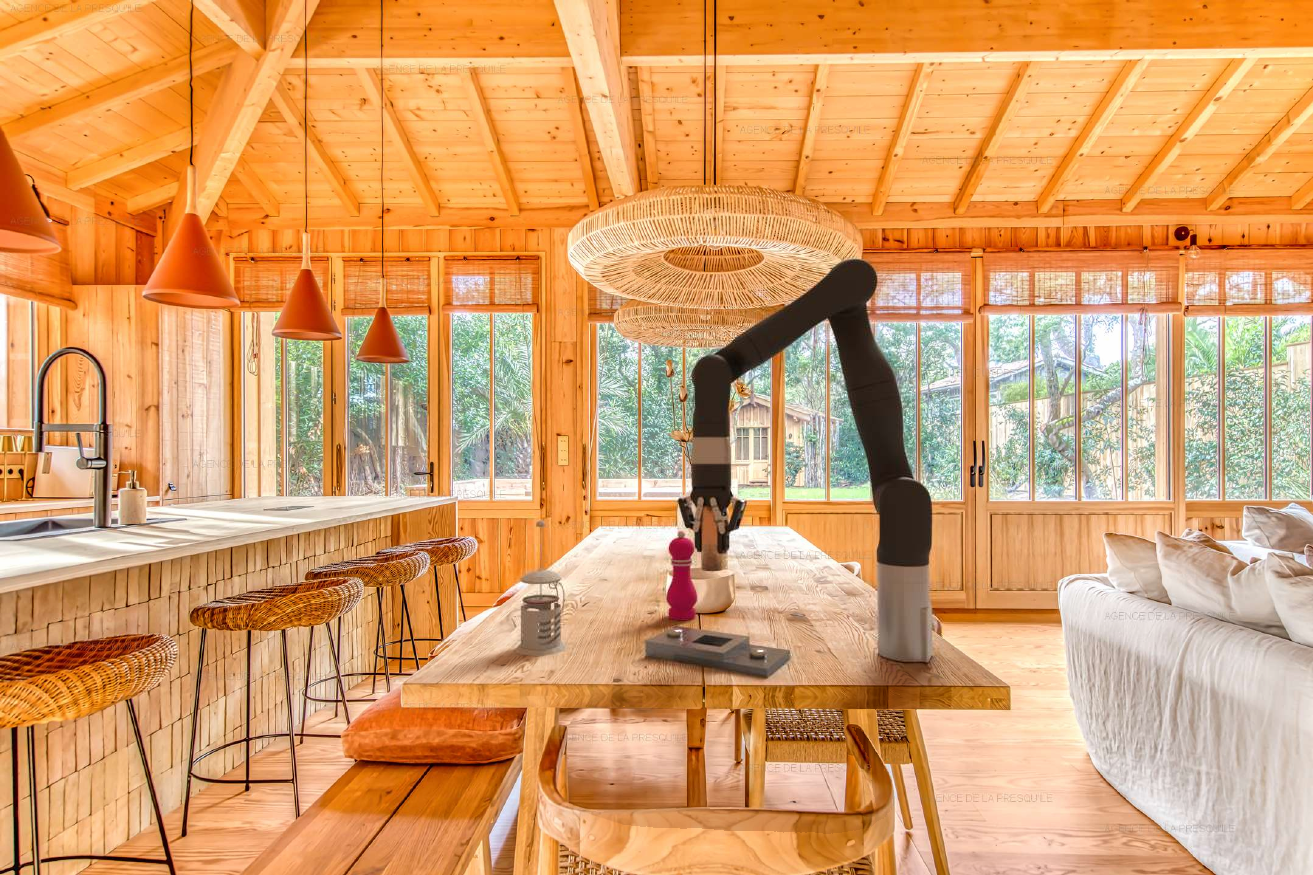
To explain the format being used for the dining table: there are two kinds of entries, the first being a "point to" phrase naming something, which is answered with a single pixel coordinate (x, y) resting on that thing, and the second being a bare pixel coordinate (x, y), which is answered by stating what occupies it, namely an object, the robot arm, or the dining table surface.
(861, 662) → the dining table surface
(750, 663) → the lower link
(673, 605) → the pepper mill
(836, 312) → the robot arm
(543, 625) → the french press
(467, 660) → the dining table surface
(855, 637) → the dining table surface
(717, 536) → the copper pin
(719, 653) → the upper link
